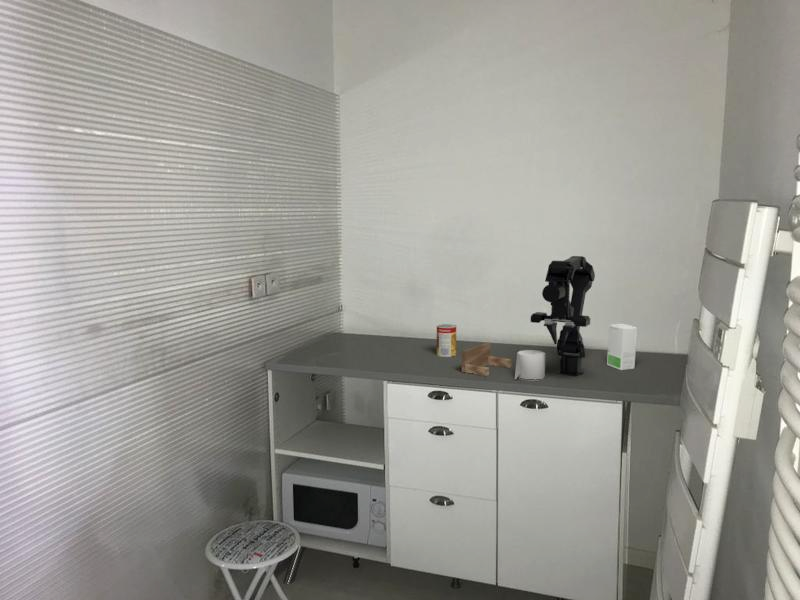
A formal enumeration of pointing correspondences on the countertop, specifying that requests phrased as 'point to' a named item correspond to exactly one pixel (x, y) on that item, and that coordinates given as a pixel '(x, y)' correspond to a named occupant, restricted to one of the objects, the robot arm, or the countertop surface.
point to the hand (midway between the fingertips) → (559, 344)
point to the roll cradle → (481, 360)
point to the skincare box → (622, 346)
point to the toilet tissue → (530, 364)
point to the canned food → (446, 340)
